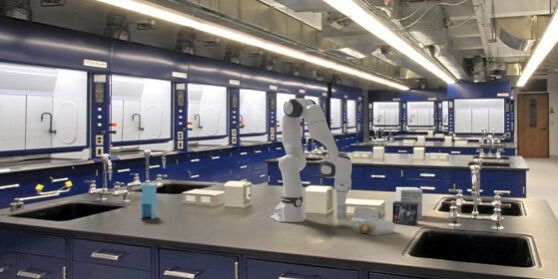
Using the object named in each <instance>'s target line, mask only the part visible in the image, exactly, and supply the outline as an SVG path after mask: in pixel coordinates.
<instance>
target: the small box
mask: <svg viewBox="0 0 558 279" xmlns="http://www.w3.org/2000/svg"><path fill="white" fill-rule="evenodd" d="M417 214H418V203H411V202H401V201H396V200H395V201H393V202H392V221H391V222H393V223H394V224H397V225H404V226H405V225H406V226H416V225H418V219H417V216H418V215H417Z"/></svg>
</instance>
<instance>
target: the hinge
mask: <svg viewBox="0 0 558 279" xmlns="http://www.w3.org/2000/svg"><path fill="white" fill-rule="evenodd" d="M381 215H382V214H381V212H380V211H379V210H377V209H375V208H372V207H368V206H367V207H365V206H364V207H363V206H362V207H356V208H355V209H354V211H353V214H352V218H351V219H350V223H351V224H352V223H353V224H359V222H360V221H364V220H366V219H373V218H379V219H382V218H381Z"/></svg>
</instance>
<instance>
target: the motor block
mask: <svg viewBox="0 0 558 279" xmlns="http://www.w3.org/2000/svg"><path fill="white" fill-rule="evenodd" d="M358 231H359V232H360V233H362V234H367V235H371V236H374V237H376V236H382V235H386V234H387V235H388V234H393V233H395V223H393V222H392V221H389V220H387V219H382V218H381V219H379V218H373V219H366V220H364V221H360V222H359V223H358Z"/></svg>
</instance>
